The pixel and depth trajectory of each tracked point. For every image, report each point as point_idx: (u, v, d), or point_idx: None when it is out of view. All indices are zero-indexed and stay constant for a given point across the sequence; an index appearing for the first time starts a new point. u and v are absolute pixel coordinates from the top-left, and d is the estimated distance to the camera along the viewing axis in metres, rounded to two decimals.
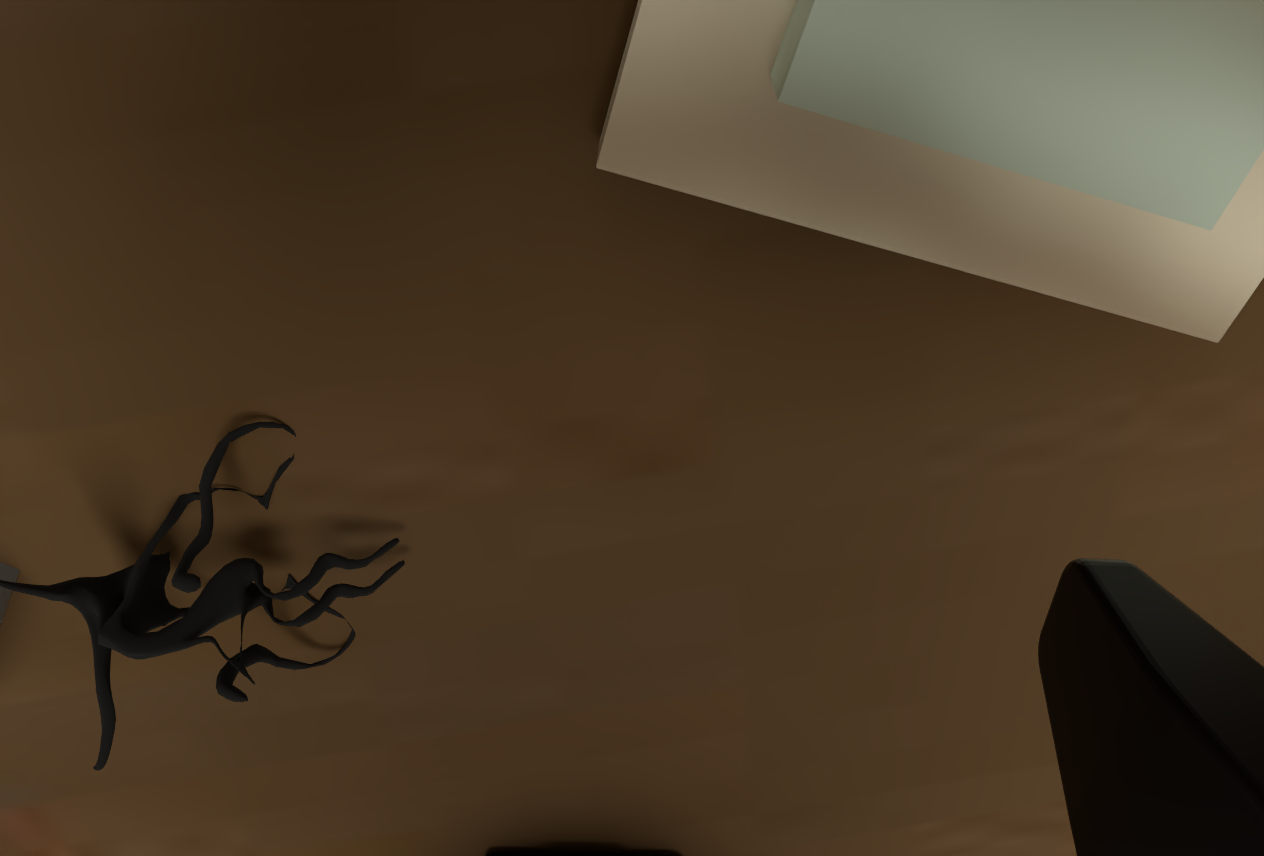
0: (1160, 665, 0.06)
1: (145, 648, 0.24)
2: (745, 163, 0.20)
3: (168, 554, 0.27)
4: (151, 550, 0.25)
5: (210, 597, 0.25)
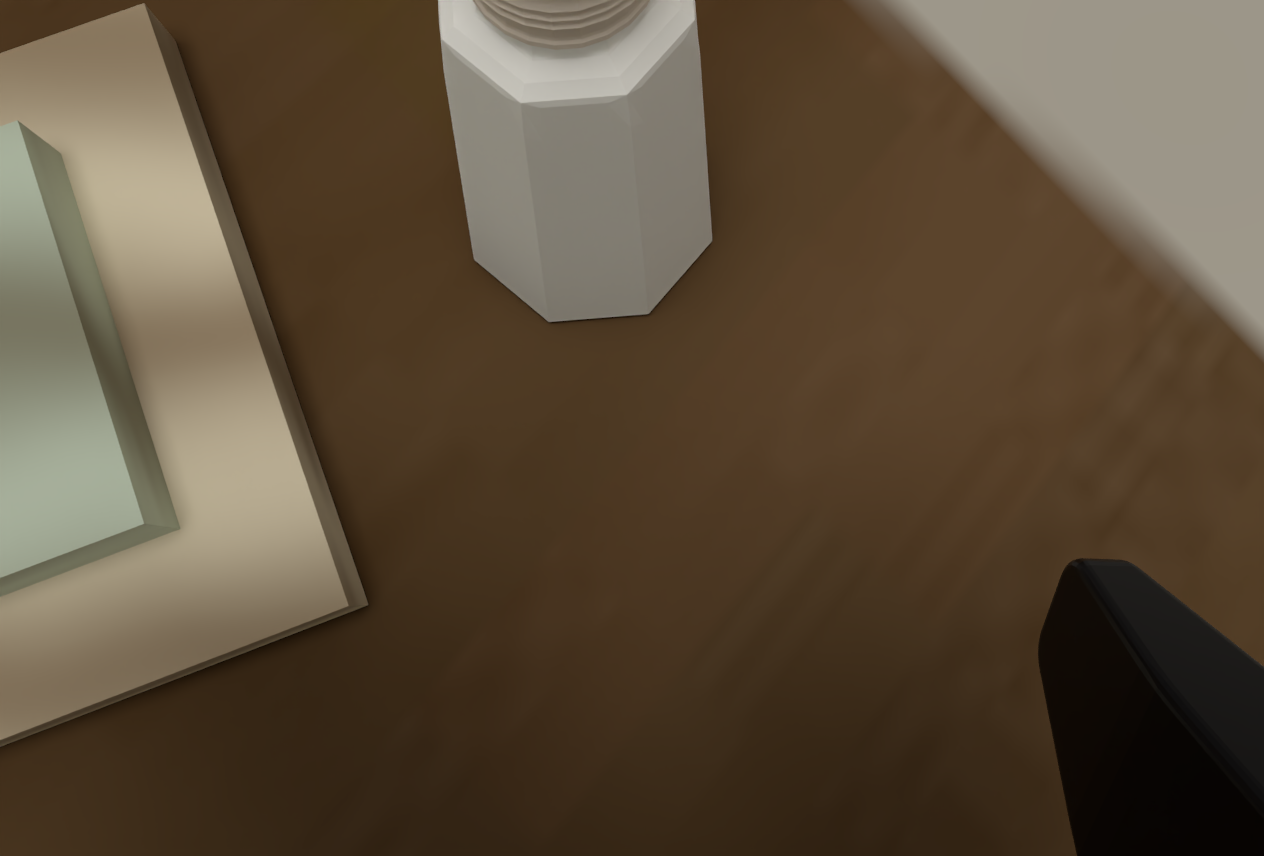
0: (1160, 665, 0.06)
1: None
2: None
3: None
4: None
5: None
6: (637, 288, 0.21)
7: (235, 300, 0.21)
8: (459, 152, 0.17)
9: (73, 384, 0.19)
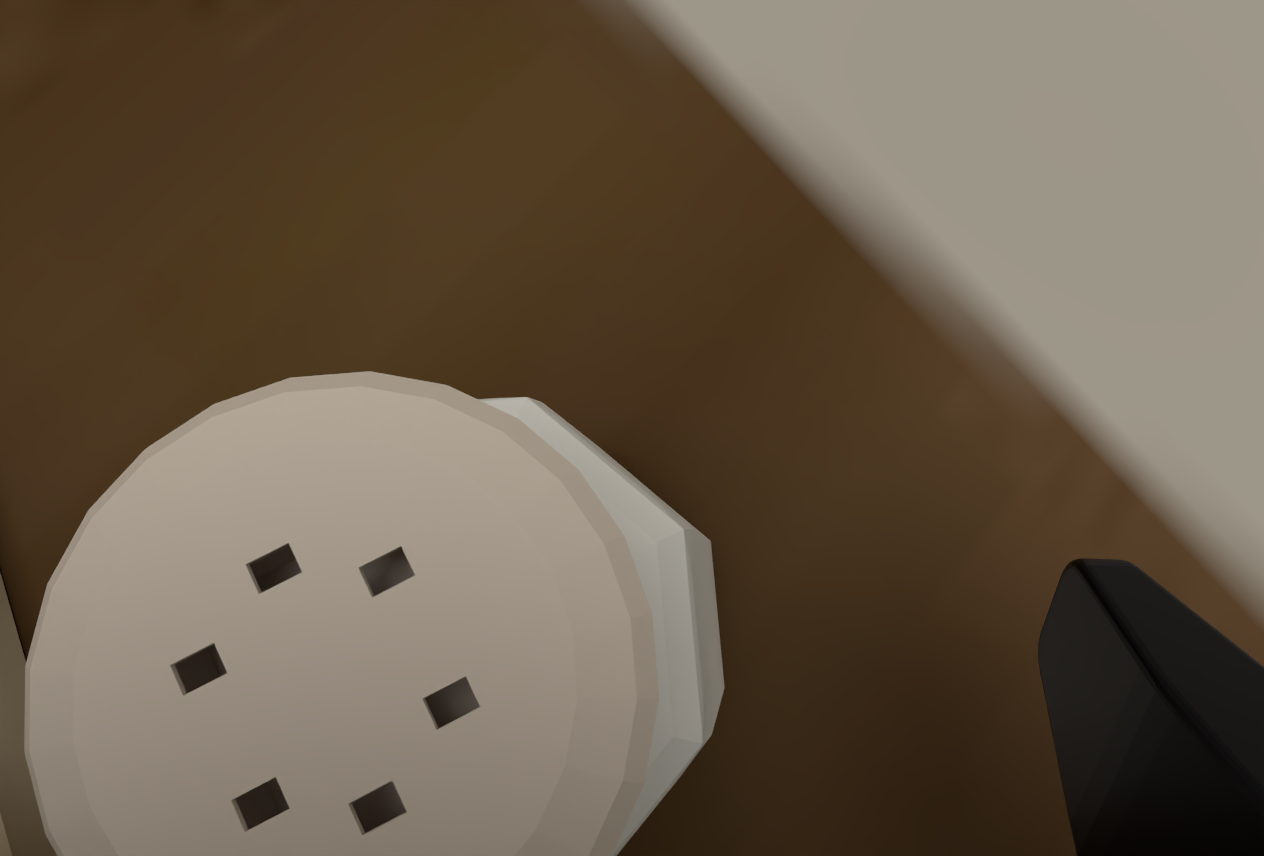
0: (1160, 664, 0.06)
1: None
2: None
3: None
4: None
5: None
6: None
7: None
8: None
9: None
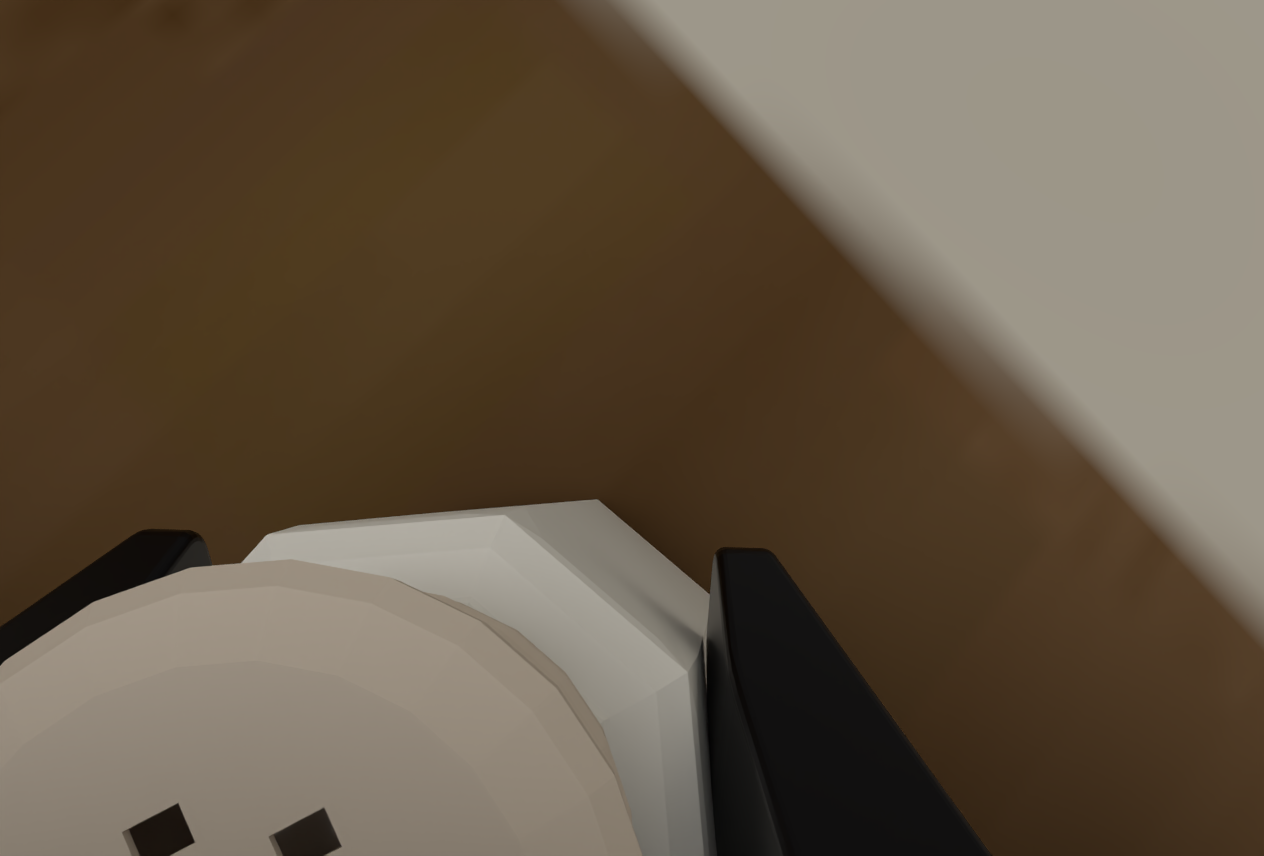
0: (742, 651, 0.06)
1: None
2: None
3: None
4: None
5: None
6: None
7: None
8: None
9: None
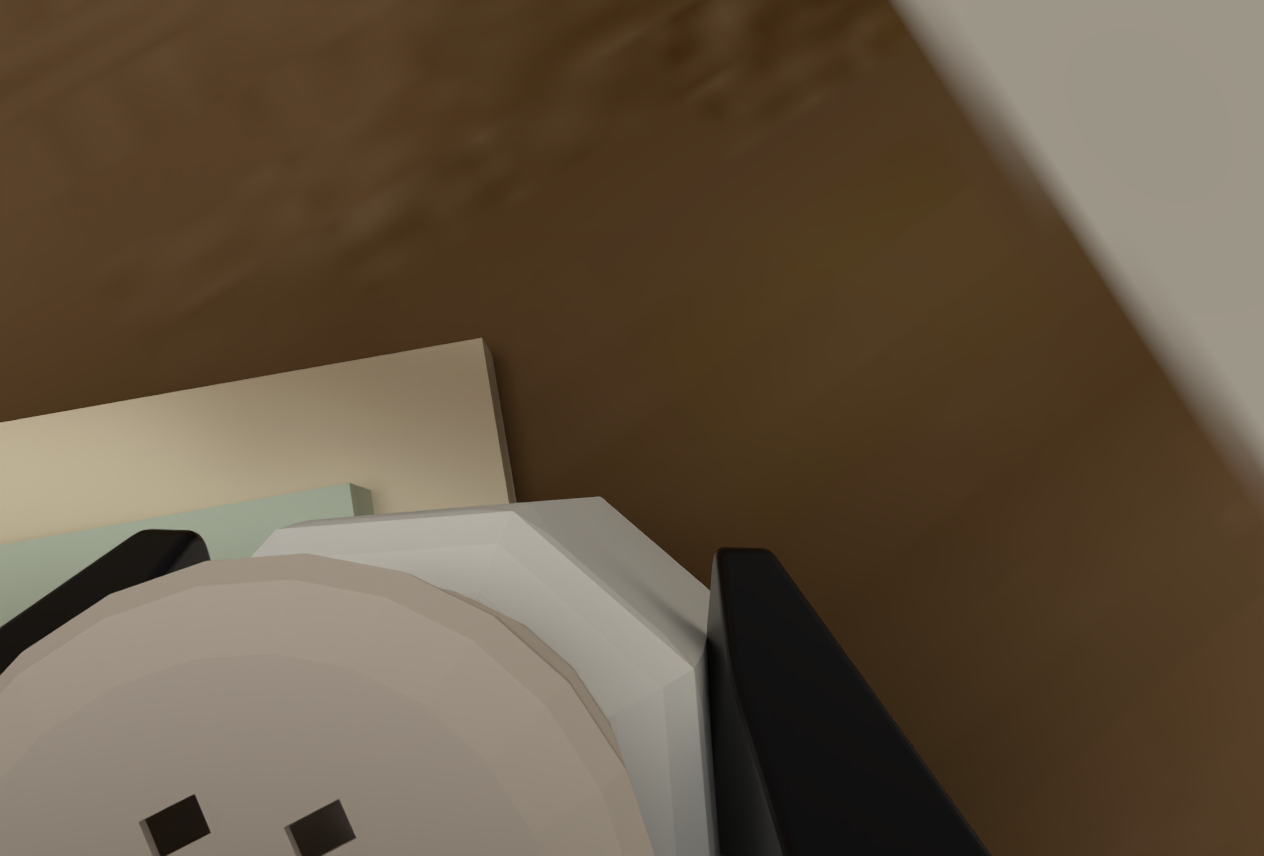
0: (741, 651, 0.06)
1: None
2: None
3: None
4: None
5: None
6: None
7: None
8: None
9: None
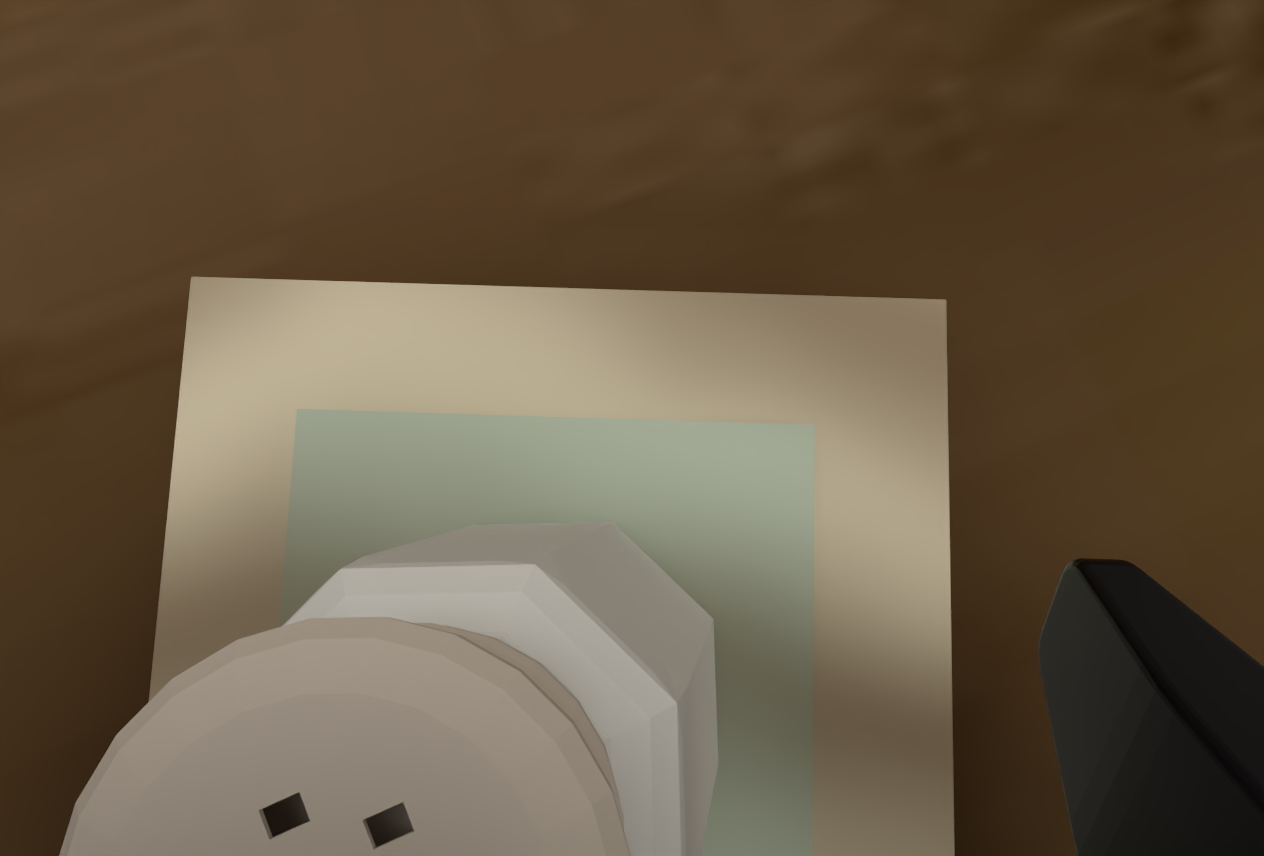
0: (1160, 664, 0.06)
1: None
2: None
3: None
4: None
5: None
6: None
7: (941, 696, 0.17)
8: None
9: (782, 772, 0.16)
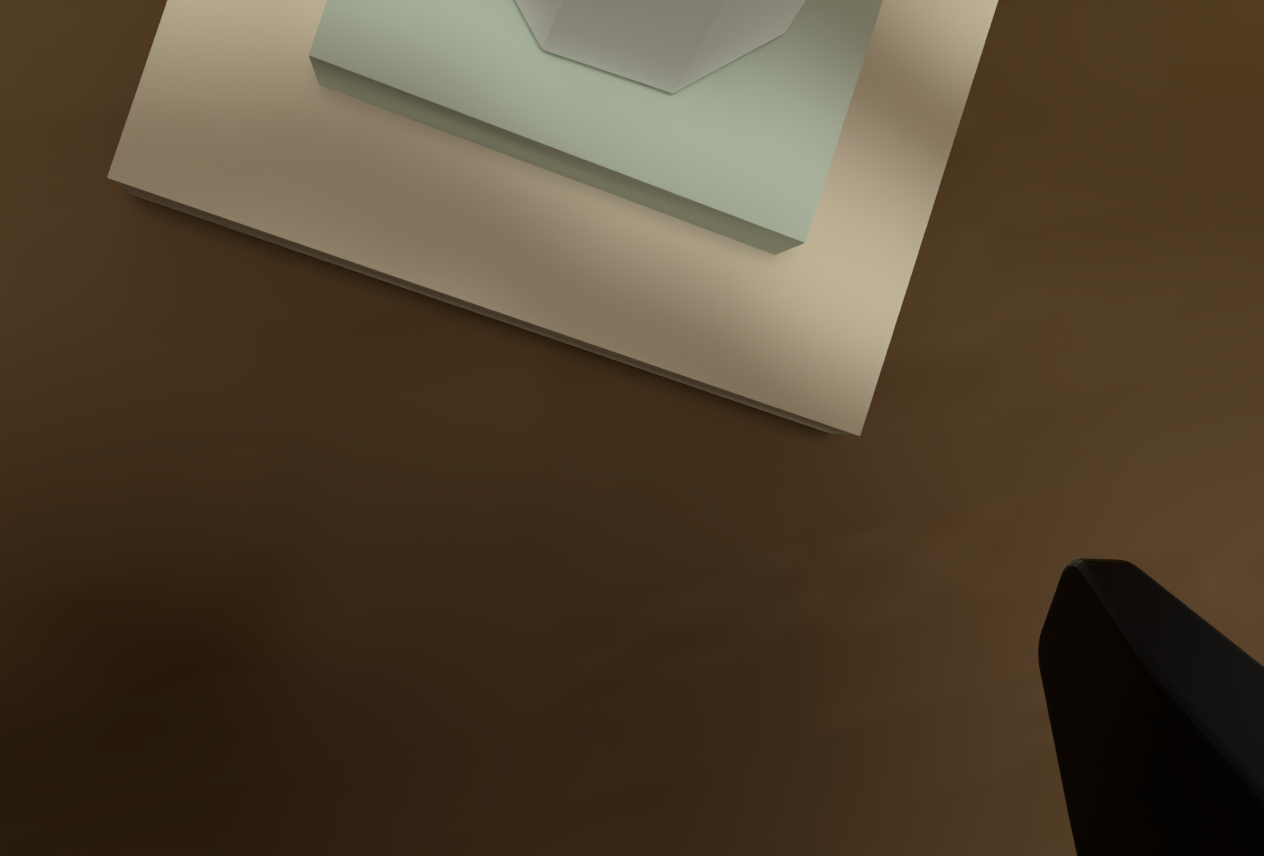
0: (1160, 664, 0.06)
1: None
2: (294, 185, 0.17)
3: None
4: None
5: None
6: (683, 49, 0.15)
7: (959, 94, 0.19)
8: None
9: (833, 65, 0.17)
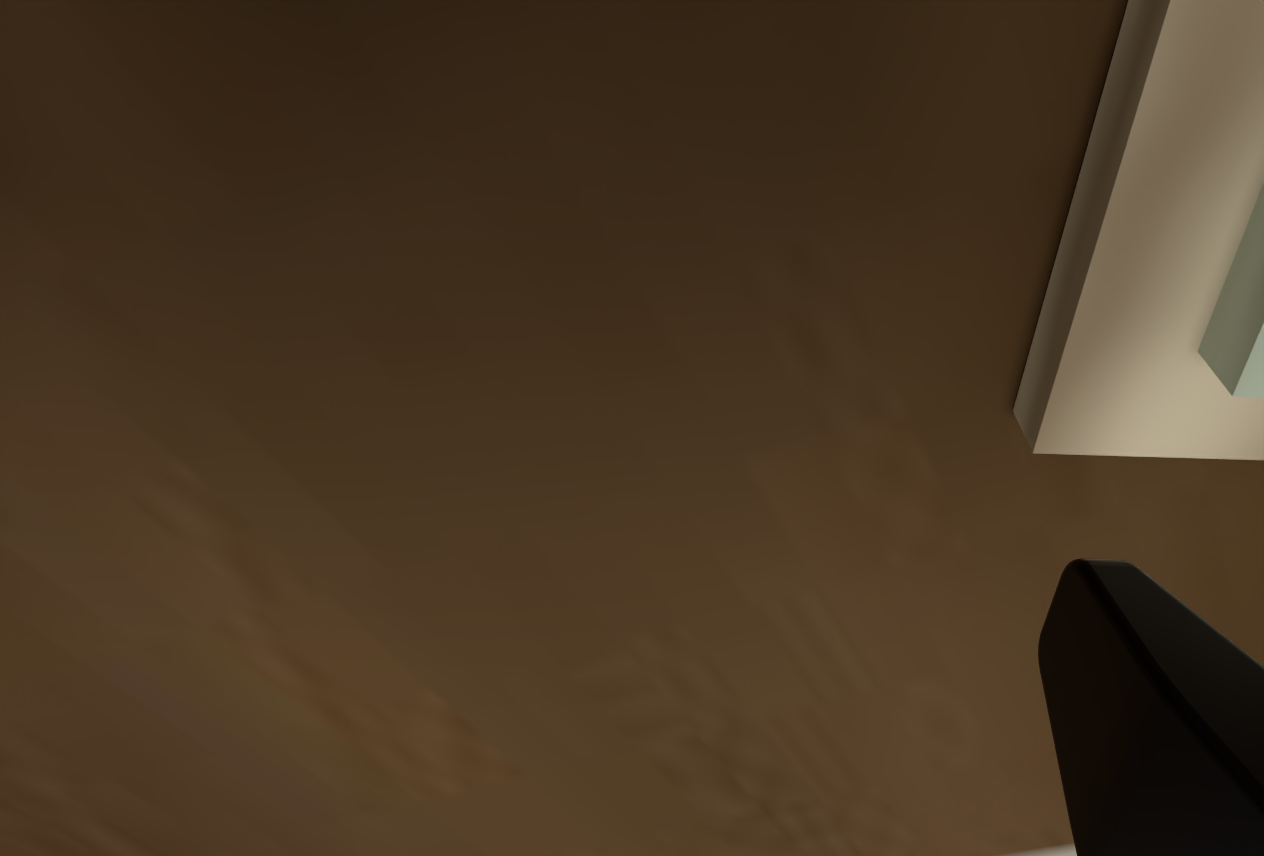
0: (1160, 665, 0.06)
1: None
2: None
3: None
4: None
5: None
6: None
7: None
8: None
9: None
